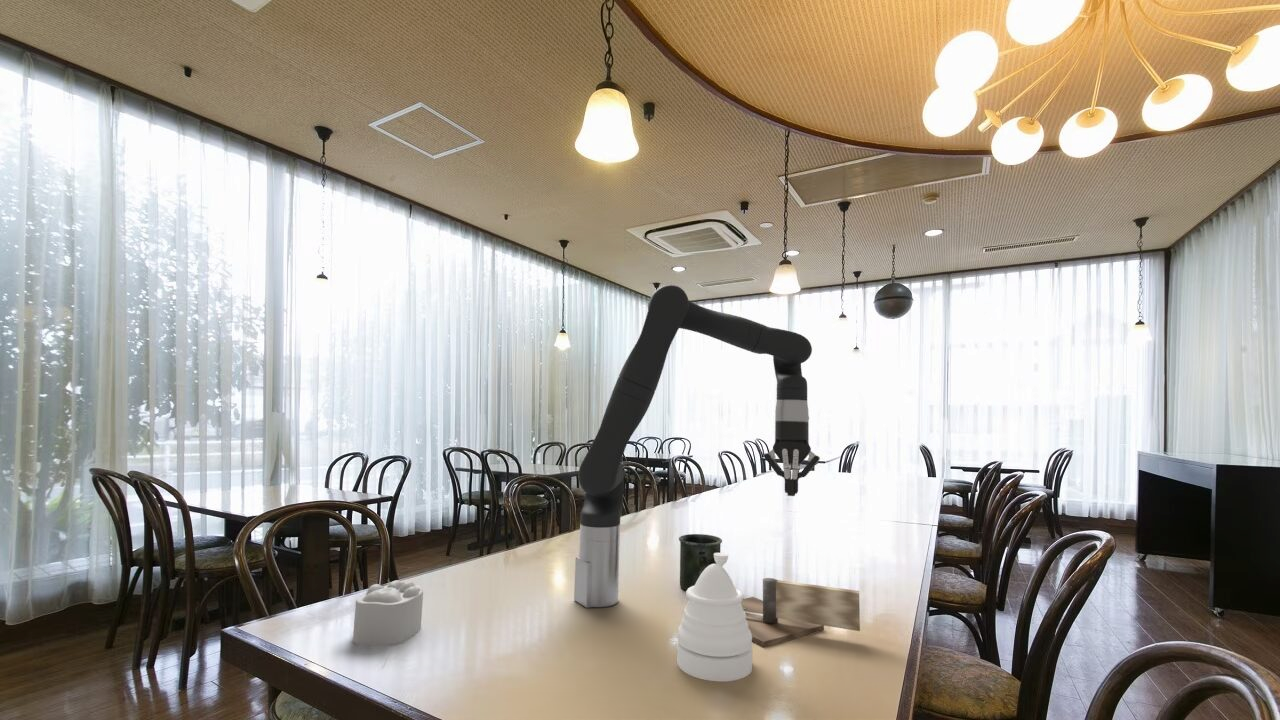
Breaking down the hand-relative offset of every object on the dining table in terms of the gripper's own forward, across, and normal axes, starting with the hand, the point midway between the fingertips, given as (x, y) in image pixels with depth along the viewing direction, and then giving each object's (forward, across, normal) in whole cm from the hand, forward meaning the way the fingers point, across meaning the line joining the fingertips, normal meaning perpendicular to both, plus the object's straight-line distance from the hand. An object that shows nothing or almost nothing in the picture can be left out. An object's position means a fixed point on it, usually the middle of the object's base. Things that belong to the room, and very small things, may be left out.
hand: (791, 495), depth 127 cm
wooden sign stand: (+25, -5, -11) cm, 28 cm away
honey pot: (+26, -8, -35) cm, 44 cm away
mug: (+25, -22, +4) cm, 34 cm away
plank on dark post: (+24, +1, -13) cm, 27 cm away
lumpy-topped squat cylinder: (+27, -68, -49) cm, 88 cm away
